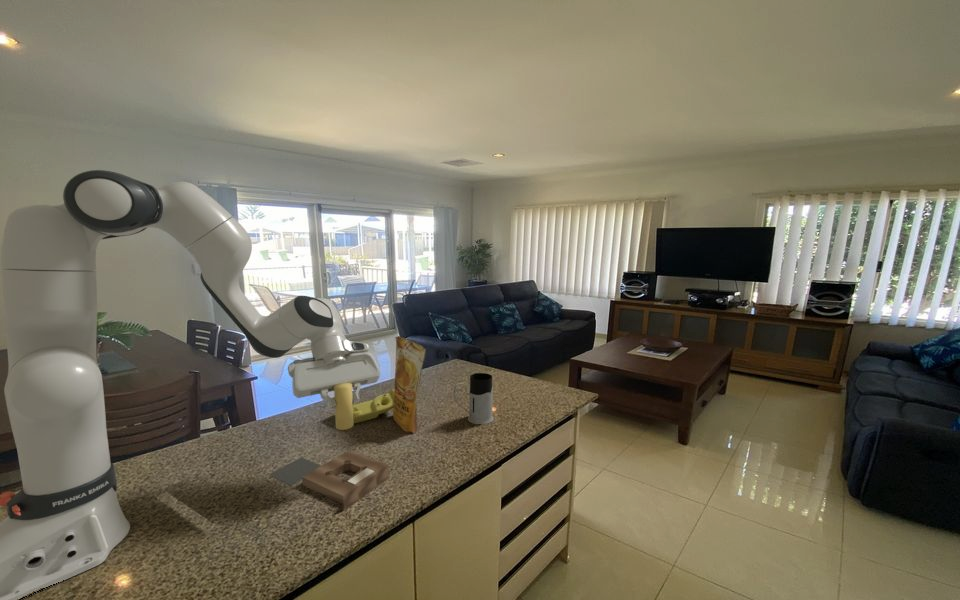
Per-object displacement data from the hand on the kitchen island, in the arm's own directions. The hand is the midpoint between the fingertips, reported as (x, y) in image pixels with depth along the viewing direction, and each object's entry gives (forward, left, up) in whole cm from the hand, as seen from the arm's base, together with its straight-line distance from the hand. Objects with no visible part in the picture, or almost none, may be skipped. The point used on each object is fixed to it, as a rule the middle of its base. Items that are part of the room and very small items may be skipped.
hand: (344, 404), depth 89 cm
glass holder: (+46, -8, -21) cm, 51 cm away
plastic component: (+31, +25, -21) cm, 45 cm away
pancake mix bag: (+33, +10, -21) cm, 40 cm away
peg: (0, +1, -6) cm, 6 cm away
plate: (-4, +14, -21) cm, 25 cm away
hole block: (0, +1, -21) cm, 21 cm away
